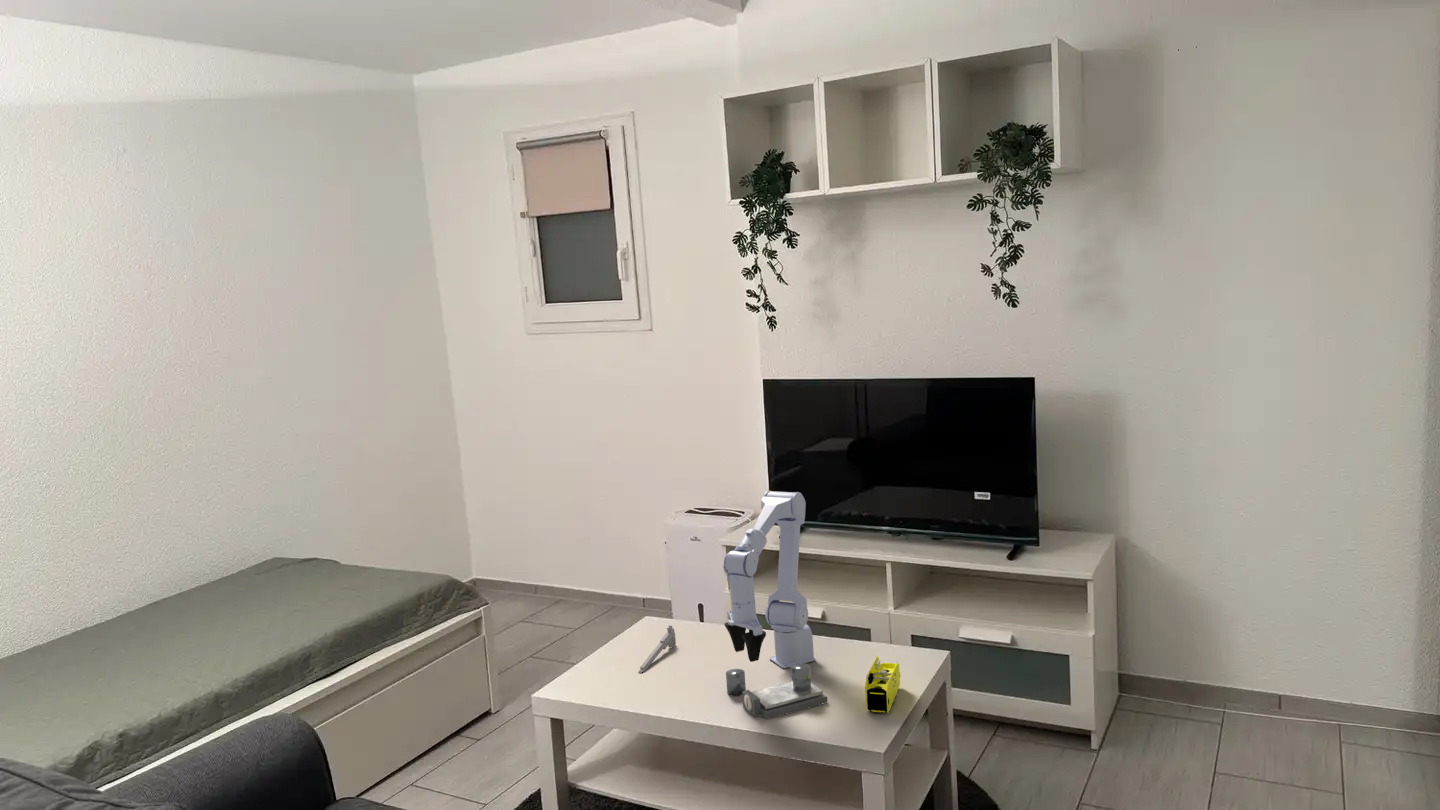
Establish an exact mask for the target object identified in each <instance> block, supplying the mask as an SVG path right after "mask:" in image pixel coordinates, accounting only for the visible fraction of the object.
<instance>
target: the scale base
mask: <svg viewBox="0 0 1440 810" xmlns="http://www.w3.org/2000/svg"><path fill="white" fill-rule="evenodd" d="M741 696H742V708H743V709H744V710H745V709H746V712H748V713H749V712H750V713H749V714H750V715H751V714H752V715H751V716H753V717H754V718H757V717H760V716H759V715H761V717H762V716H763V717H762V718H764V719H765V720H769V719H768V718H770V719H773V718H776V717H775V716H777V717H780V716H779V715H781V716H784V715H787V714H786V713H788V714H791V713H790V712H792V713H795V712H798V711H797V710H799V711H802V710H801V709H803V710H805V708H806V709H809V708H808V707H810V708H814V707H816V705H817V706H820V705H819V704H821V705H823V704H822V703H825V702H828V696H827V695H825V694H824V693H823V694H822V695H818V696H814V697H811V698H807V699H803V700H799V701H796V702H792V703H788V704H784V705H781V706H777V707H773V708H770V709H766V710H765V709H764V708H763V707H762V706H760V698H758V697H757V696H756V695H754V694H753V693H752V691H751V690H749V689H746V691H742V695H741ZM825 704H826V703H825ZM813 706H814V707H813ZM794 711H795V712H794ZM783 714H784V715H783ZM756 716H757V717H756ZM772 717H773V718H772Z"/></svg>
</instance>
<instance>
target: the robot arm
mask: <svg viewBox="0 0 1440 810" xmlns="http://www.w3.org/2000/svg"><path fill="white" fill-rule="evenodd" d="M760 501H761V502H760V509H761V510H760V514H759V515H758V517H757V520H756V521H755V523H754V525H753V528H748V529H747V530H746V531H745V533H743V536H742V537H741V539H740V541H739V542H738V544H737V545H736V547H735V548H734V550H730V551H729V552H727V553H726V554H725V556H724V560H723V565H722V566H723V567H722V568H723V572H724V573H725V575H726V581H727V582H728V583H729V592H730V604H731V605H730V606H731V607H730V608H731V610H727V613H726V614H727V619H728V621H727V622H725V623H724V627H725V628H726V630H727V632H728V634H729V636H730V639H731V642H732V646H733V649H734V651H735V652H736V653H738V652H742V651H744V650H745V647H746V651H747V657H748V660H749V662H751V663H753V662H756V661H759V658H760V654H761V649H762V645H763V642H764V640H765V638H766V637H767V632H766V631H765V630H763V626H762V625H761V624H760V622H759V620H758V617H757V611H756V610H757V609H756V597H755V581H754V580H755V579H754V575H755V574H756V572H757V570H758V564H759V560H760V559H759V556H761V553H762V551H763V550H764V548H765V547H766V545H767V543H768V540H767V537H766V536H767V535H768V533H769V532H770V531H771V529H772V528H773V527H774V525H775V524H777V526H778V527H779V529H780V531H779V546H778V547H779V551H778V552H779V554H778V568H777V571H778V572H777V587H776V589H775V591H774V592H772V593H771V594H769V595H768V599H767V605H766V608H765V620H766V622H767V624H768V625H770V629H773V638H774V639H773V641H774V651H775V652H774V654H775V655H773V656H770V657H769V660H771V661H772V662H773V663H775V664H776V665H778V666H779V667H780V668H782V669H787V668H791V666H792V665H794V664H798V663H804V664H808V663H810V662H811V663H812V662H814V661H816V658H815V653H814V639H813V638H814V636H813V633H812V629H811V627H810V626H809V625H808V624H807V623H808V620H809V609H808V599H807V598H806V597H805V596H804V595H803V594H802V593H801V592H800V591H799V590H798V578H799V577H798V575H799V556H800V555H799V554H800V538H801V526H802V525H804V524H805V522H806V521H805V519H806V506H807V505H806V504H807V503H806V500H805V498H804V496H803V494H802V493H801V492H799V491H796V492H795V491H793V492H792V491H791V492H790V491H789V492H788V491H772V490H766V491H765V492H764V494H763V495H762V498H761V500H760ZM747 630H748V632H747Z"/></svg>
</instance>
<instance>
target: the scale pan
mask: <svg viewBox="0 0 1440 810" xmlns="http://www.w3.org/2000/svg"><path fill="white" fill-rule="evenodd" d="M751 692H752V693H753V694H754V695H756V696H757V697H758V698H760V706H762V707H763V708H764V709H765V710H766V709H770V708H773V707H777V706H781V705H784V704H788V703H792V702H796V701H799V700H803V699H807V698H811V697H814V696H818V695H822V694H824V691H823V690H822V689H821V688H819V687H818V686H817V685H815V684H814V683H812V682H811V689H809V690H807V691H795V690H793V689H792V680H791V681H788V682H784V683H780V684H777V685H776V684H775V685H772V686H768V687H764V688H761V689H757V690H753V691H751Z"/></svg>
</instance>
